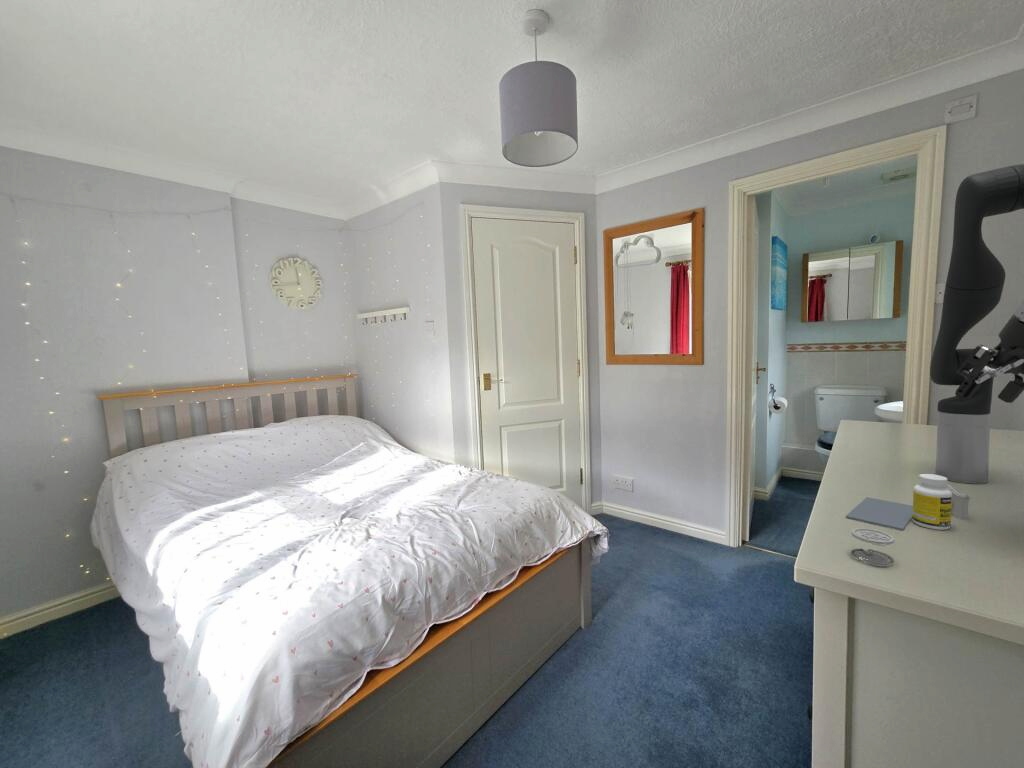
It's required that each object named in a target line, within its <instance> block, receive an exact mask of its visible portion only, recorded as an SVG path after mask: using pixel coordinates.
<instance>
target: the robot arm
mask: <svg viewBox="0 0 1024 768" xmlns="http://www.w3.org/2000/svg"><path fill="white" fill-rule="evenodd" d="M954 202H955V203H954V215H953V216H954V217H953V237H952V247H951V248H952V249H951V253H950V254H951V255H950V259H949V260H950V261H949V267H948V272H947V277H946V281H945V287H944V292H943V300H942V309H941V317H940V318H941V319H940V323H939V329H938V334H937V337H936V340H935V346H934V348H933V353H932V355H931V361H930V366H929V375H930V379H931V381H932V382H933V383H934V384H936V385H939V386H958V387H957V389H956V390H955V392H954V393H955V396H951V397H947V398H941V399H940V400H938V402H937V418H936V420H937V423H936V453H935V454H936V455H935V457H936V458H935V459H936V460H935V475H939V476H943V477H946V478H947V479H948V481H951V482H955V483H963V484H964V483H965V484H975V485H976V484H986V483H988V482H989V463H990V461H989V460H990V438H991V437H990V434H991V409H992V403H993V402H992V399H993V386H994V378H997V377H999V376H1000V375H1002V374H1005V375H1006V374H1011V375H1012V380H1009V381H1008V383H1007V384H1006V385H1005V386H1004V388H1003V389H1002V390H1001V391H1000V393H999V394H998V395H997V398H998V399H999V400H1000V401H1003V402H1005V403H1007V404H1009V403H1010V404H1012V403H1014V402H1015V401H1016V399H1018V397H1020V395H1021V394H1022V393H1023V392H1024V300H1023V301H1022V302H1021V303H1020V305H1019V306H1018V308H1017V309H1016V310H1015V312H1014V313H1013V314H1012V315H1011V316H1010V318H1009V320H1008V321H1007V323H1005V325H1004V326H1003V327H1002V329H1001V330H1000V331H999V333H998V337H999V340H1000V342H999V343H998V345H996V346H994V347H988V346H986V345H983V344H978V345H976V347H975V348H957V347H958V345H959V343H960V342H961V340H962V339H963V338H964V337H965V335H966V334H967V333H968V332H969V331H970V330H971V329H973V328H974V327H975V326H976V325H978V324H979V323H980V322H981V321H983V320H984V319H986V317H987V316H988V315H989V314H990V313H991V312H993V310H994V309H996V307H997V306H998V305H999V303H1000V301H1001V298H1002V294H1003V290H1004V286H1005V280H1006V270H1005V268H1004V266H1003V264H1002V263H1001V262H1000V260H999V259H998V258H997V257H996V256H995V255H994V253H993V252H992V251H991V250H990V248H989V247H988V246H987V244H986V243H985V241H984V238H983V235H982V234H983V231H982V225H983V219H984V218H988V217H992V216H996V215H1003V214H1008V213H1012V212H1016V211H1019V210H1024V164H1023V163H1021V164H1014V165H1008V166H1003V167H1000V168H995V169H991V170H987V171H981V172H978V173H973V174H971V175H968V176H966V177H964V179H962V181H961V182H960V183H959V186H958V188H957V192H956V197H955V201H954Z"/></svg>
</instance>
